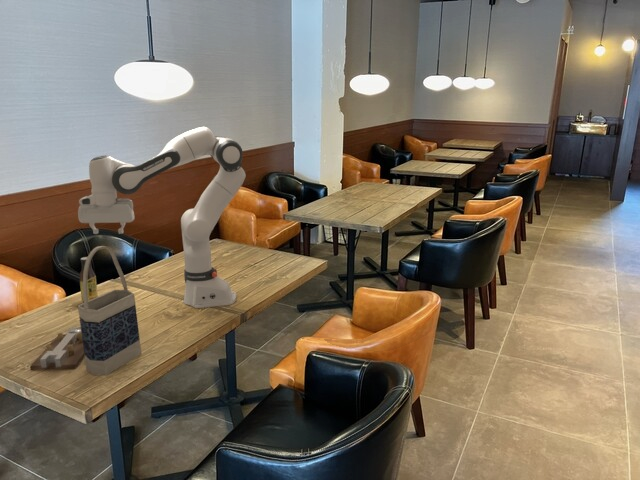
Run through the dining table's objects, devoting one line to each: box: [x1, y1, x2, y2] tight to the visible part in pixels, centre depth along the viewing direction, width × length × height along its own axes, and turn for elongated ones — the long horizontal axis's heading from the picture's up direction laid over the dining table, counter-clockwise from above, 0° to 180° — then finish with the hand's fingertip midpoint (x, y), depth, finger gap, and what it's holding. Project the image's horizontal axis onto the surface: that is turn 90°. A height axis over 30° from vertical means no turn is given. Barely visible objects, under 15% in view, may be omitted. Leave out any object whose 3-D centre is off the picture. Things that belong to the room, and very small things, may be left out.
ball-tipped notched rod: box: [40, 326, 81, 368], centre depth 171 cm, size 23×6×3 cm, turn 5°
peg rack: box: [29, 332, 85, 371], centre depth 172 cm, size 14×22×5 cm, turn 5°
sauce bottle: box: [79, 256, 99, 304], centre depth 212 cm, size 7×6×20 cm
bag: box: [77, 245, 142, 376], centre depth 162 cm, size 18×9×40 cm, turn 155°
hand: (108, 233), depth 197 cm, fingers open, 8 cm apart
